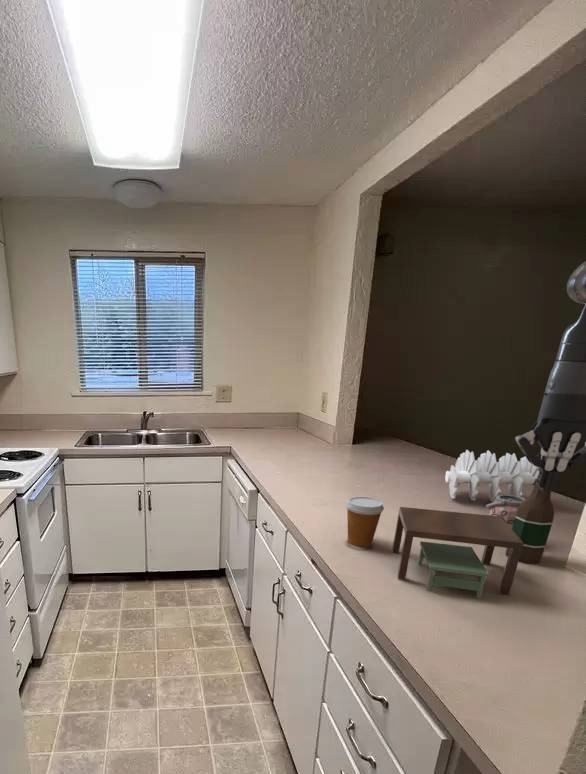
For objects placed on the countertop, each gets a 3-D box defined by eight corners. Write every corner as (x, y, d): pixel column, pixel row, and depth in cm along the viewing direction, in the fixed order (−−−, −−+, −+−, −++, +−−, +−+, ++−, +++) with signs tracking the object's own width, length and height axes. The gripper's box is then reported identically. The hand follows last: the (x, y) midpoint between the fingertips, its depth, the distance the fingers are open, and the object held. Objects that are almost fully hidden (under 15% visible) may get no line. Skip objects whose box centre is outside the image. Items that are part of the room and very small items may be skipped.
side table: (488, 562, 109) (500, 516, 104) (508, 595, 94) (524, 543, 90) (391, 550, 116) (399, 506, 111) (398, 579, 102) (406, 530, 97)
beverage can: (472, 533, 125) (482, 494, 121) (493, 529, 127) (503, 491, 123) (504, 546, 117) (515, 505, 113) (526, 542, 119) (538, 501, 115)
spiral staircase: (439, 504, 159) (520, 507, 152) (453, 498, 143) (544, 502, 135) (440, 455, 161) (520, 456, 153) (454, 444, 144) (545, 444, 136)
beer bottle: (510, 562, 109) (536, 469, 100) (499, 549, 116) (523, 461, 107) (547, 566, 106) (577, 472, 98) (534, 552, 113) (561, 463, 105)
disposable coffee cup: (377, 551, 115) (384, 509, 111) (339, 545, 119) (344, 504, 115) (378, 538, 123) (384, 498, 119) (343, 533, 127) (348, 494, 123)
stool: (466, 569, 105) (471, 547, 103) (482, 599, 93) (489, 574, 91) (416, 562, 109) (420, 541, 107) (425, 590, 97) (430, 566, 94)
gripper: (613, 388, 72) (581, 487, 78) (519, 387, 77) (495, 481, 83) (639, 393, 66) (602, 500, 72) (535, 391, 70) (508, 492, 76)
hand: (545, 489), depth 77 cm, fingers closed
